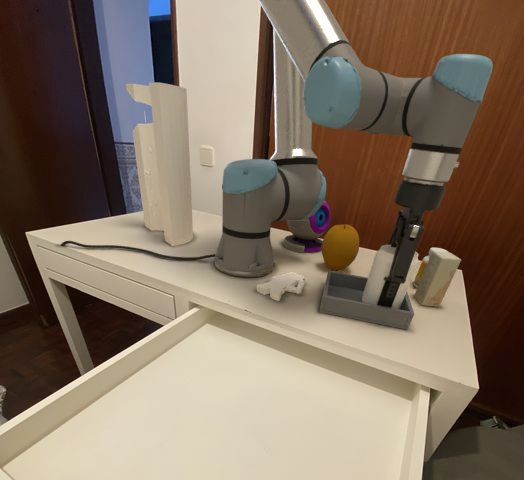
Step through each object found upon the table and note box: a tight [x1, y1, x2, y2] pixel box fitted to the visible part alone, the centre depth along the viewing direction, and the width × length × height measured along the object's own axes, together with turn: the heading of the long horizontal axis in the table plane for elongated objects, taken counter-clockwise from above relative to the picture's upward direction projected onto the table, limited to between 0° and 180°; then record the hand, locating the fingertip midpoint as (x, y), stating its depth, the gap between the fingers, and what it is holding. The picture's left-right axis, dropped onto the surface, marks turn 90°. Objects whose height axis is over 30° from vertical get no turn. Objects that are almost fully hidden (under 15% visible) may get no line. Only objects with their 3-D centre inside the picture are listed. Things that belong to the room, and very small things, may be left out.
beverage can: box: [362, 244, 419, 309], centre depth 62 cm, size 8×8×12 cm
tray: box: [318, 270, 415, 330], centre depth 65 cm, size 18×15×4 cm
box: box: [413, 251, 462, 308], centre depth 68 cm, size 5×4×11 cm
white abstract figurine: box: [256, 271, 306, 302], centre depth 69 cm, size 9×12×2 cm
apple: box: [320, 223, 360, 272], centre depth 80 cm, size 10×10×12 cm
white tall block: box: [125, 81, 194, 247], centre depth 84 cm, size 35×11×21 cm
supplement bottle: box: [412, 247, 449, 289], centre depth 75 cm, size 5×5×10 cm
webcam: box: [283, 199, 331, 254], centre depth 92 cm, size 13×13×15 cm
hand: (381, 300), depth 65 cm, fingers closed on beverage can, 8 cm apart
